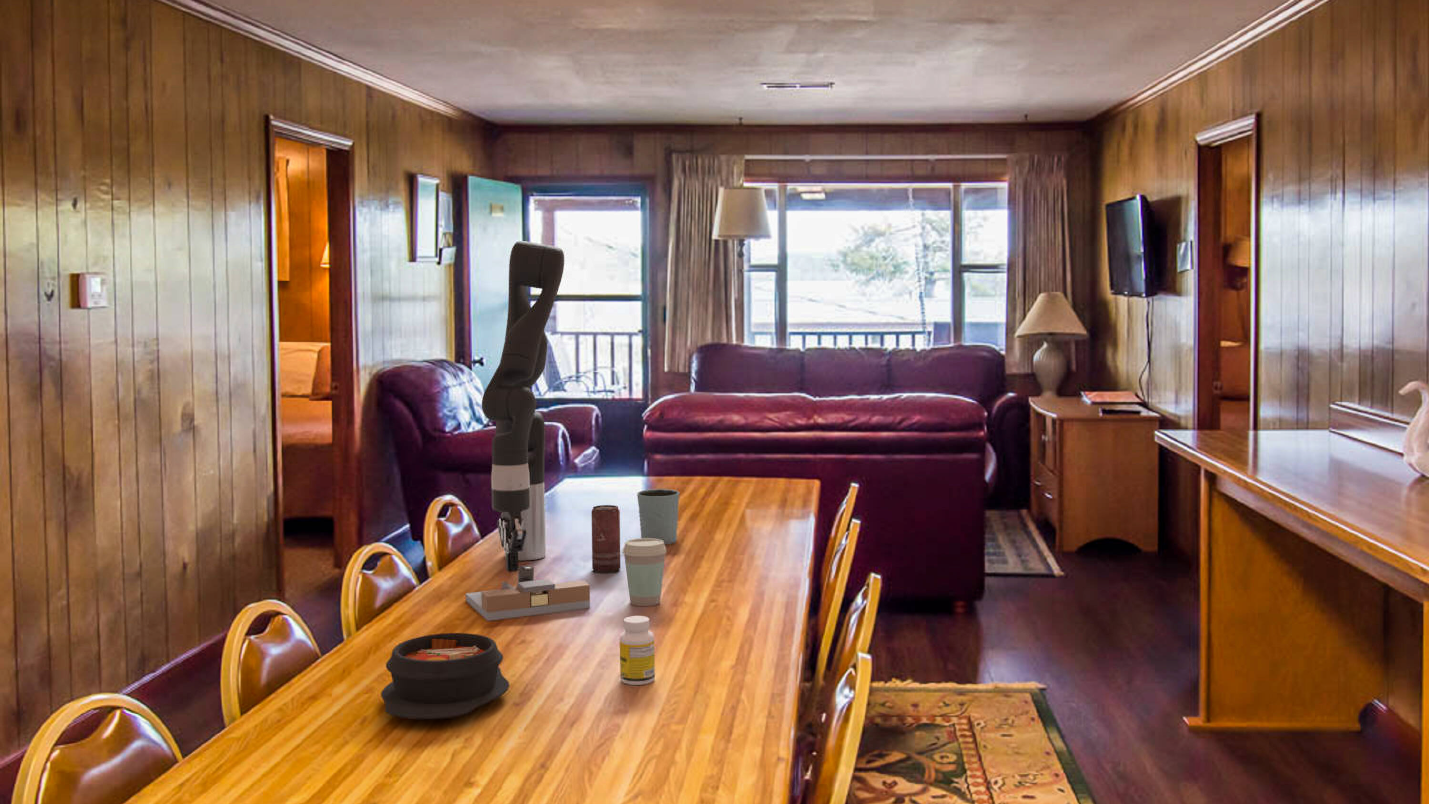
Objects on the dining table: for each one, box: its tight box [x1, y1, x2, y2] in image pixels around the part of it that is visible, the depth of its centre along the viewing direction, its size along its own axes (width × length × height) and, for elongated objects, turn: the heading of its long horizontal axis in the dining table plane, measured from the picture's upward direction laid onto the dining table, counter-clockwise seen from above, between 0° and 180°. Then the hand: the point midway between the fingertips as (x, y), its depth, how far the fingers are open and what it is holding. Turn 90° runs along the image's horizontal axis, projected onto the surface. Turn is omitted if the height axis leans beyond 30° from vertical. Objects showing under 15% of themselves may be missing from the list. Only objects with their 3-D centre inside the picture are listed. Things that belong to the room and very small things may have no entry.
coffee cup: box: [622, 537, 667, 607], centre depth 234 cm, size 8×8×12 cm
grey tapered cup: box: [636, 488, 680, 545], centre depth 291 cm, size 10×10×12 cm
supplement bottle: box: [619, 615, 656, 686], centre depth 187 cm, size 5×5×10 cm
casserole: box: [380, 632, 510, 720], centre depth 178 cm, size 25×19×8 cm
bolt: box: [515, 565, 548, 606], centre depth 230 cm, size 10×3×6 cm, turn 26°
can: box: [591, 504, 621, 574], centre depth 261 cm, size 6×6×14 cm
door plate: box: [465, 578, 591, 622], centre depth 233 cm, size 16×20×6 cm
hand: (512, 570), depth 242 cm, fingers closed
